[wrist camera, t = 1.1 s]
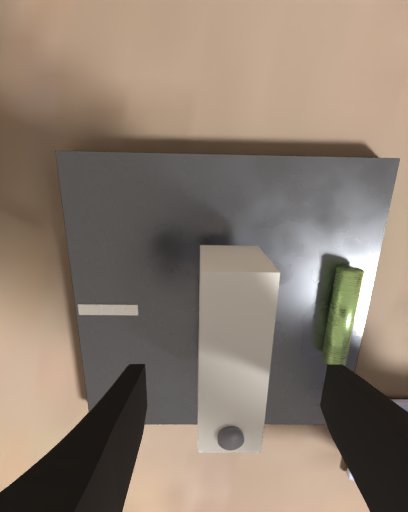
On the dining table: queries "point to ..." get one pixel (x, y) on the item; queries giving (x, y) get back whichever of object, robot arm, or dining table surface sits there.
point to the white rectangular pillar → (234, 346)
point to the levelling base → (220, 233)
